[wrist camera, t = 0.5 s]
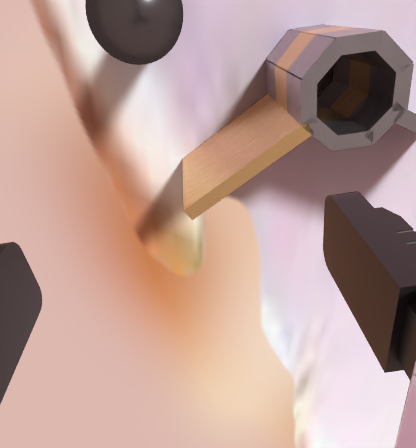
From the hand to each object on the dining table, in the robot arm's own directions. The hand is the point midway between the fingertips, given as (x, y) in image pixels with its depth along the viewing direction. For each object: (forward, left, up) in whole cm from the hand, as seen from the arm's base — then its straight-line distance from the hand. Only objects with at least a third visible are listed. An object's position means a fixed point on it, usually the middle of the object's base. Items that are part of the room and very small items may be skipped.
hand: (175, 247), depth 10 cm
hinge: (+2, +11, -26) cm, 28 cm away
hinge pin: (-6, -1, -26) cm, 26 cm away
